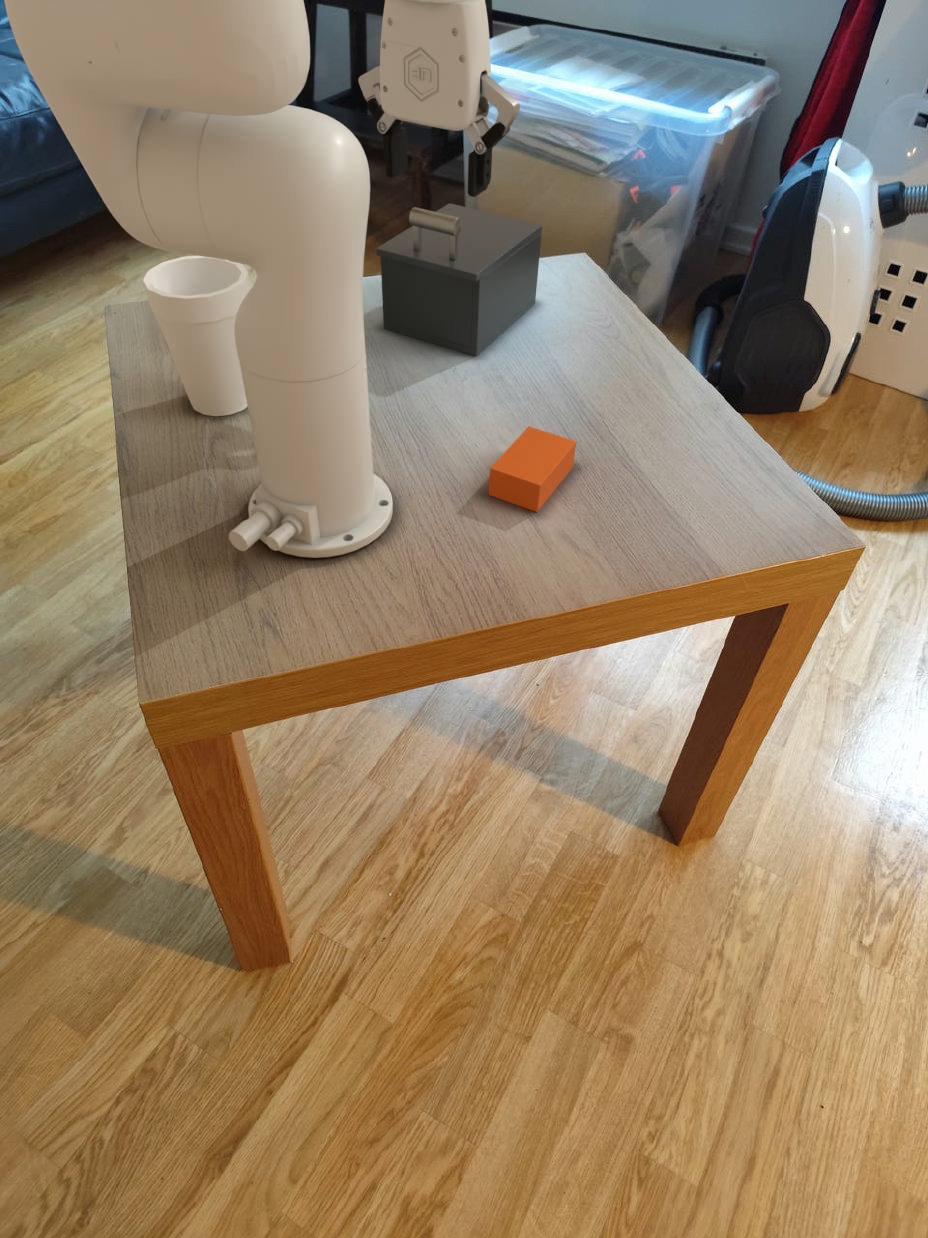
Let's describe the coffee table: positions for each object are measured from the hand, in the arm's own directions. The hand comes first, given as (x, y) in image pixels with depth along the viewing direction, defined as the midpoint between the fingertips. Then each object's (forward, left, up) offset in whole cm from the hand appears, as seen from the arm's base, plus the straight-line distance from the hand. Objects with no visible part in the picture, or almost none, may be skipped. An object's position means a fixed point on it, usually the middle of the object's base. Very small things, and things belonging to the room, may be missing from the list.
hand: (436, 182), depth 85 cm
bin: (+6, 0, -17) cm, 18 cm away
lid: (+6, 0, -8) cm, 10 cm away
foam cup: (-24, +12, -17) cm, 32 cm away
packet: (-20, -22, -17) cm, 34 cm away
